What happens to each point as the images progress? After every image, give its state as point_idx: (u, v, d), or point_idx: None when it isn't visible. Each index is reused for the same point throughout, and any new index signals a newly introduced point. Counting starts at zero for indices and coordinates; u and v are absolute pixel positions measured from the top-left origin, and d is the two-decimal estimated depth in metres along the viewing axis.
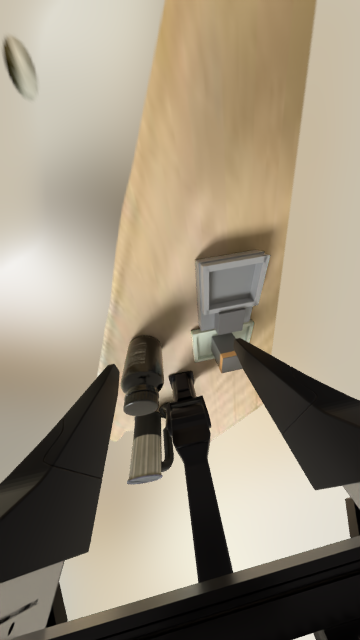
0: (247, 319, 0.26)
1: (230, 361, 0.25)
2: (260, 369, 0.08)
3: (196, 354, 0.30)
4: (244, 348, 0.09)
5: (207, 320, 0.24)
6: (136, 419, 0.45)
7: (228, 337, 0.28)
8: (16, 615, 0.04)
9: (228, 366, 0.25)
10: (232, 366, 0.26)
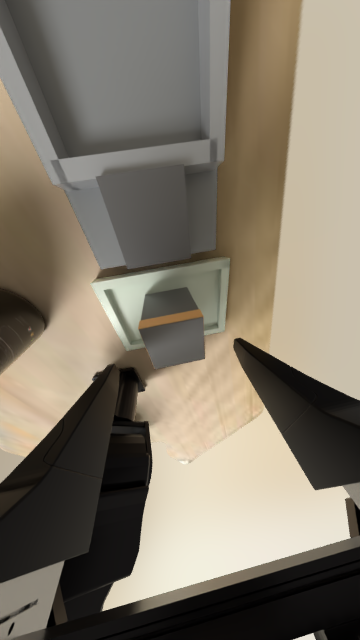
0: (210, 241, 0.11)
1: (165, 339, 0.10)
2: (260, 369, 0.08)
3: (122, 333, 0.15)
4: (244, 348, 0.09)
5: (103, 234, 0.10)
6: None
7: (176, 293, 0.13)
8: (16, 615, 0.04)
9: (164, 352, 0.11)
10: (175, 353, 0.11)
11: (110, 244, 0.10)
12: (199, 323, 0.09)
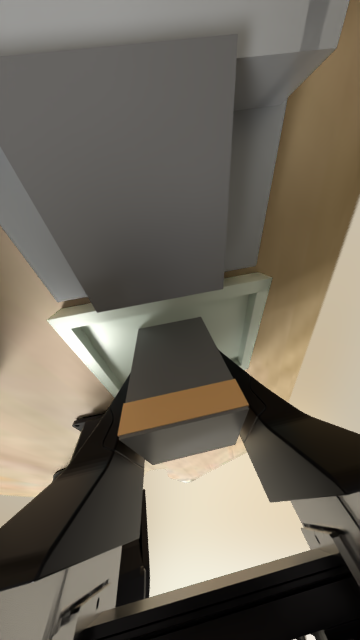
0: (249, 253, 0.06)
1: (171, 440, 0.05)
2: None
3: (106, 380, 0.11)
4: None
5: (51, 241, 0.05)
6: (52, 481, 0.25)
7: (186, 330, 0.08)
8: None
9: (170, 450, 0.06)
10: (188, 448, 0.06)
11: None
12: (239, 415, 0.05)
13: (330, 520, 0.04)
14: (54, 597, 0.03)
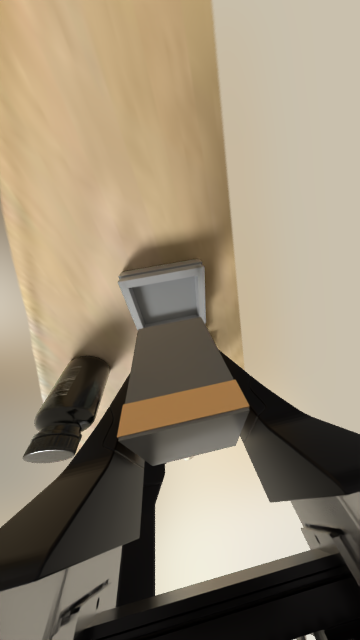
0: None
1: (171, 441, 0.05)
2: None
3: None
4: None
5: None
6: None
7: (186, 331, 0.08)
8: None
9: (170, 451, 0.06)
10: (188, 449, 0.06)
11: None
12: (239, 417, 0.05)
13: (330, 520, 0.04)
14: (54, 597, 0.03)
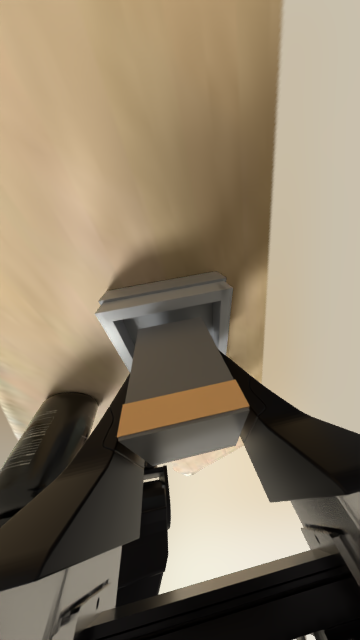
0: None
1: (171, 441, 0.05)
2: None
3: None
4: None
5: None
6: None
7: (186, 331, 0.08)
8: None
9: (170, 451, 0.06)
10: (188, 449, 0.06)
11: None
12: (239, 416, 0.05)
13: (330, 520, 0.04)
14: (54, 597, 0.03)
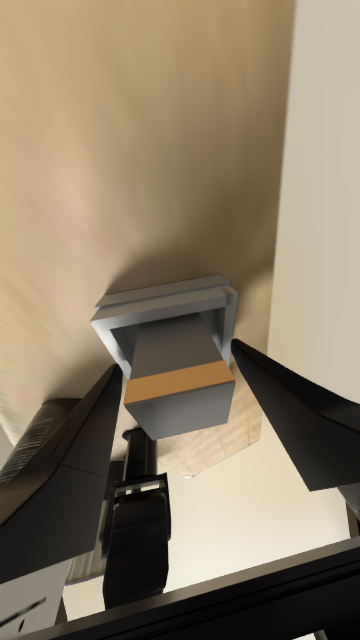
0: None
1: (169, 412, 0.06)
2: (256, 370, 0.08)
3: None
4: (240, 349, 0.09)
5: None
6: None
7: (184, 322, 0.09)
8: (16, 615, 0.04)
9: (168, 424, 0.07)
10: (184, 423, 0.07)
11: None
12: (227, 389, 0.06)
13: None
14: None
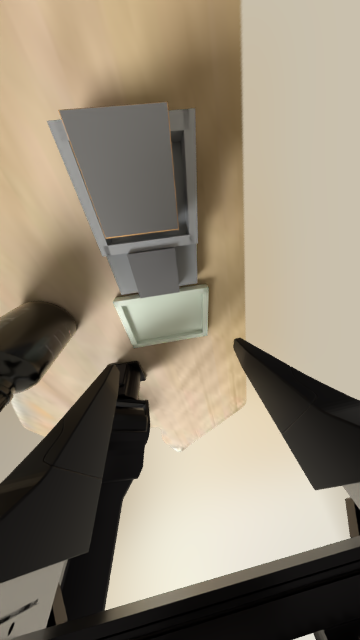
0: (193, 278, 0.17)
1: (110, 156, 0.06)
2: (260, 369, 0.08)
3: (131, 335, 0.21)
4: (244, 348, 0.09)
5: (125, 275, 0.15)
6: None
7: None
8: (16, 615, 0.04)
9: (114, 195, 0.07)
10: (132, 201, 0.07)
11: (129, 280, 0.16)
12: (162, 120, 0.06)
13: None
14: None
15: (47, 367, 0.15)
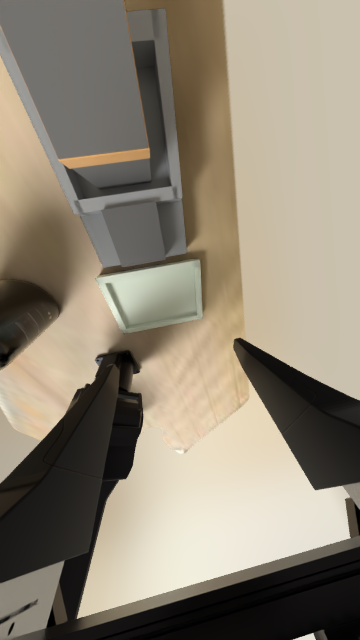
0: (182, 247, 0.15)
1: (44, 22, 0.05)
2: (260, 369, 0.08)
3: (119, 319, 0.20)
4: (244, 348, 0.09)
5: (105, 243, 0.14)
6: None
7: None
8: (16, 615, 0.04)
9: (60, 89, 0.06)
10: (84, 100, 0.06)
11: (110, 250, 0.14)
12: None
13: None
14: None
15: (19, 348, 0.13)
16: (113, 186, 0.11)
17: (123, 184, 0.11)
